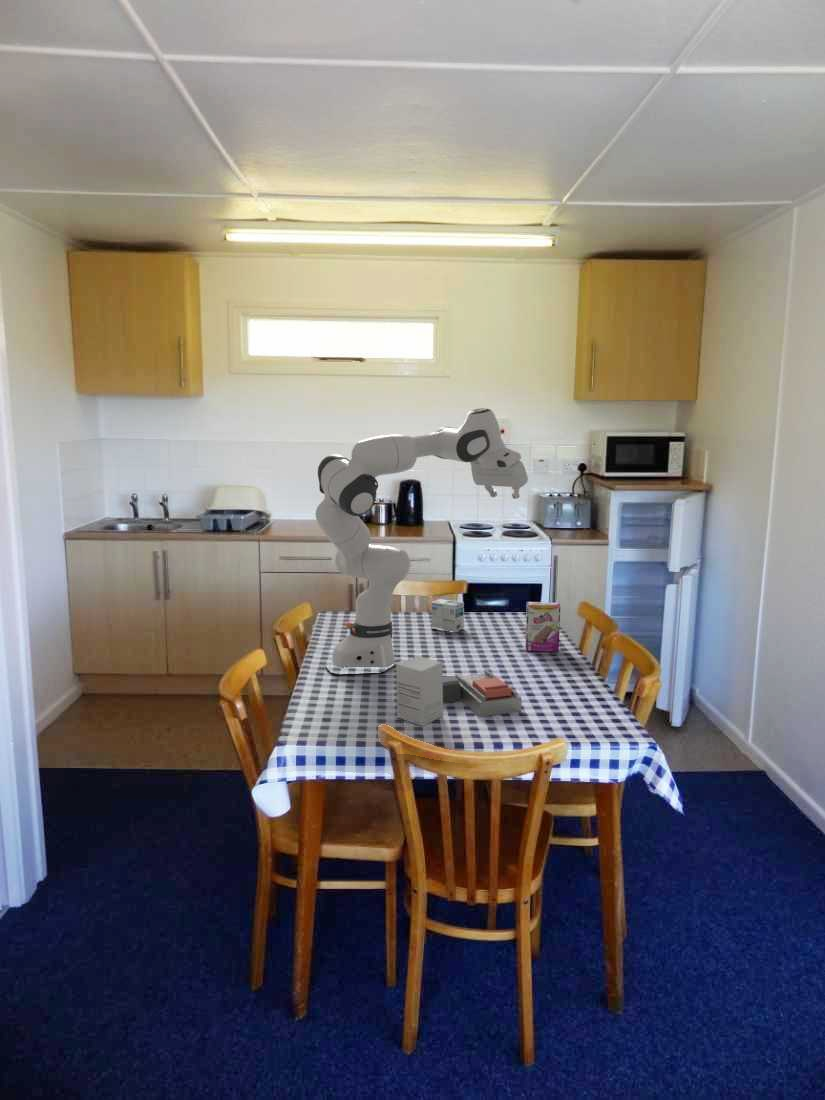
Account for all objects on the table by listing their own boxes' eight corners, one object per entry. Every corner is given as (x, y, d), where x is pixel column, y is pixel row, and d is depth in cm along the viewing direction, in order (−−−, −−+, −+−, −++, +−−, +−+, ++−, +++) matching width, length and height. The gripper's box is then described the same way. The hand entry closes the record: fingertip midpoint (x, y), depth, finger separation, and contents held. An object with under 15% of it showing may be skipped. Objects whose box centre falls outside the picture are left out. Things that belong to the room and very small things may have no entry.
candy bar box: (525, 652, 255) (526, 604, 252) (525, 648, 260) (526, 601, 257) (559, 653, 254) (560, 605, 251) (558, 648, 258) (559, 602, 256)
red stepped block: (485, 698, 201) (485, 689, 200) (472, 687, 209) (472, 678, 209) (511, 695, 203) (511, 685, 203) (497, 684, 211) (497, 675, 211)
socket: (479, 716, 199) (480, 698, 198) (451, 690, 219) (451, 673, 218) (521, 711, 203) (521, 692, 202) (489, 685, 223) (489, 668, 222)
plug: (440, 703, 209) (440, 683, 208) (434, 697, 214) (434, 677, 213) (460, 701, 211) (460, 680, 210) (453, 695, 216) (454, 675, 215)
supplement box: (417, 708, 206) (417, 655, 203) (443, 716, 200) (443, 661, 198) (395, 718, 199) (395, 663, 196) (422, 727, 193) (422, 670, 191)
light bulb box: (464, 629, 283) (464, 601, 281) (455, 633, 277) (455, 605, 275) (439, 625, 289) (439, 598, 287) (430, 629, 283) (430, 601, 281)
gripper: (462, 461, 241) (475, 499, 246) (511, 462, 225) (523, 503, 231) (475, 452, 244) (487, 490, 250) (524, 453, 229) (535, 494, 234)
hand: (505, 497), depth 240 cm, fingers open, 8 cm apart
